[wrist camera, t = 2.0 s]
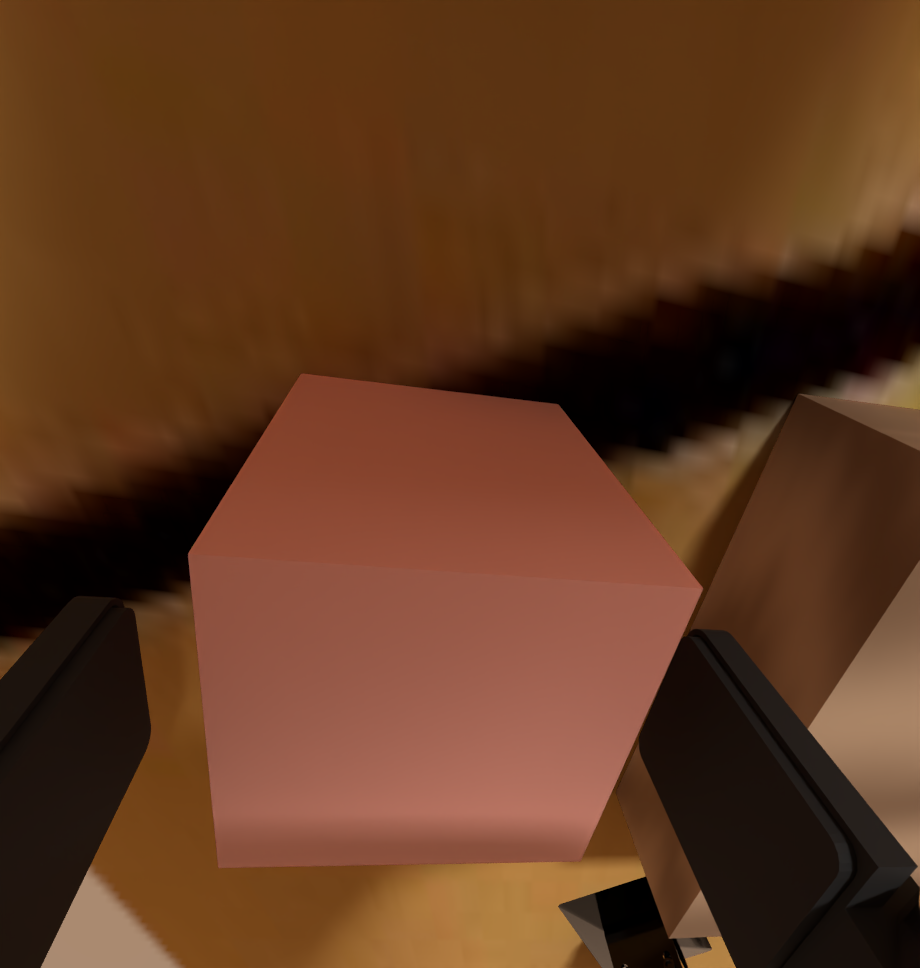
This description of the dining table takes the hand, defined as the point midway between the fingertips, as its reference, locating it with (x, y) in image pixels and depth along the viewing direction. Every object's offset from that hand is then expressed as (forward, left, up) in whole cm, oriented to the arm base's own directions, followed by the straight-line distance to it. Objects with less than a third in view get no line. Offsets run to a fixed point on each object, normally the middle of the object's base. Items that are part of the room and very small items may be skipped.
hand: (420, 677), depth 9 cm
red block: (-1, 0, -5) cm, 5 cm away
